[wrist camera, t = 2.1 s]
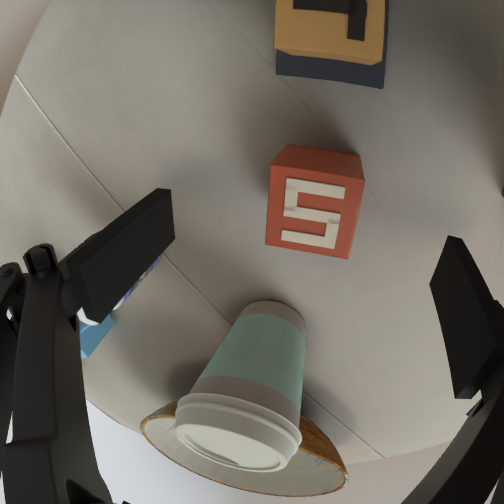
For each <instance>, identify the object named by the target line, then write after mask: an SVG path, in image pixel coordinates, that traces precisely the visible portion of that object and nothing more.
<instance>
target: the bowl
mask: <svg viewBox="0 0 504 504" xmlns="http://www.w3.org/2000/svg"><path fill="white" fill-rule="evenodd" d="M178 401H179V400H178ZM178 401H175V402H173V403H170V404H167V405H166V406H164V407H162V408H160V409H158V410H157V411H155V412H154V413H152V414H151V415H149V416H147V417H146V418H145V419H144V420H142V421H141V425H140V428H141V431H142V433H143V435H144V436H145V438H146V439H147V440H148V442H150V443H151V444H152V445H153V446H154V447H155V448H156V449H157V450H158V451H159V452H161V453H162V454H163V455H165V456H166V457H167V458H169V459H170V460H172V461H174V462H175V463H177V464H178V465H180V466H183V467H184V468H186V469H188V470H190V471H192V472H194V473H196V474H198V475H200V476H203V477H205V478H207V479H210V480H213V481H215V482H218V483H221V484H224V485H227V486H230V487H234V488H238V489H241V490H246V491H250V492H255V493H260V494H266V495H274V496H285V497H307V496H317V495H324V494H328V493H331V492H335V491H337V490H339V489H341V488H343V487H344V486H345V485H346V484H347V483H348V478H349V476H348V474H347V471H346V468H345V466H344V464H343V461H342V459H341V457H340V455H339V453H338V451H337V450H336V448H335V447H334V445H333V444H332V442H331V441H330V439H329V438H328V437H327V436H326V435H325V434H324V433H323V432H322V431H321V430H320V429H319V428H318V427H317V426H316V425H315V424H314V423H313V422H312V421H310V420H309V419H307V418H306V417H304V416H303V415H301V414H300V420H299V431H300V433H301V435H302V441H301V443H300V445H299V446H298V450H297V452H296V453H295V454H294V455H293V456H292V457H291V459H290V460H289V462H288V464H287V465H286V466H285V468H283V469H281V470H278V471H274V472H252V471H246V470H240V469H236V468H232V467H228V466H225V465H222V464H219V463H216V462H214V461H211V460H209V459H207V458H205V457H203V456H201V455H199V454H197V453H195V452H194V451H192V450H191V449H189V448H188V447H186V446H185V445H184V444H183V443H182V442H181V441H180V440H179V439H178V438H177V436H176V435H175V431H174V430H175V423H176V416H175V412H176V409H177V408H178V407H177V404H178Z"/></svg>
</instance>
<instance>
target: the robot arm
mask: <svg viewBox="0 0 504 504" xmlns="http://www.w3.org/2000/svg"><path fill="white" fill-rule="evenodd" d="M174 239H175V233H174V222H173V211H172V199H171V189H161V188H157V189H155V190H154V191H153V192H151V193H150V194H149V195H147V196H146V197H144V198H143V199H142V200H140V201H139V202H138V203H136V204H135V205H134V206H132V207H131V208H130V209H128V210H127V211H126V212H124V213H123V214H122V215H120V216H119V217H118V218H117V219H115V220H114V221H113V222H111V223H110V224H109V225H108V226H106V227H105V228H104V229H103V230H101V231H99V232H97V233H95V234H93V235H91V236H90V237H89V238H87V239H86V240H85V241H84V243H81V244H80V245H79V246H78V248H75V249H74V250H73V251H72V252H71V253H69V254H68V255H67V256H66V257H65V258H64V259H62V260H61V261H60V262H59V263H58V261H57V257H56V254H55V251H54V248H53V246H52V245H51V244H40V245H37V246H34V247H32V248H31V249H29V250H28V251H27V252H26V253H25V254H24V256H23V259H24V262H25V264H26V267H27V269H28V272H29V273H22V271H21V268H20V266H19V264H18V263H15V262H12V263H7V264H4V265H2V267H0V478H1V471H2V476H3V486H4V494H5V501H6V504H114V503H113V502H112V498H111V495H110V493H109V490H108V488H107V486H106V484H105V482H104V480H103V479H102V477H101V475H100V473H99V470H98V466H97V461H96V457H95V452H94V448H93V443H92V437H91V432H90V426H89V420H88V413H87V406H86V399H85V391H84V382H83V372H82V361H81V346H80V325H79V317H78V314H77V312H78V311H79V310H80V309H81V308H82V309H83V311H84V314H85V316H86V319H89V320H91V321H94V322H96V323H99V324H101V323H102V322H103V321H104V319H105V318H106V317H107V316H108V315H109V313H110V312H111V311H112V310H113V309H114V307H115V306H116V305H117V304H118V303H119V301H120V300H121V299H122V298H123V297H124V296H125V294H126V293H127V292H128V291H129V290H130V289H131V287H132V286H133V285H134V284H135V283H136V282H137V281H138V279H139V278H140V277H141V276H142V275H143V274H144V273H145V271H146V270H147V269H148V268H149V267H150V266H151V265H152V264H153V262H154V261H155V260H156V259H157V258H158V257H159V256H160V255H161V254H162V252H163V251H164V250H165V249H166V248H167V247H168V246H169V245H170V244H171V243H172V242H173V240H174ZM429 285H430V288H431V292H432V295H433V299H434V302H435V306H436V310H437V313H438V317H439V321H440V325H441V329H442V334H443V338H444V342H445V347H446V352H447V357H448V362H449V367H450V372H451V378H452V384H453V390H454V397H455V399H472V398H473V396H474V395H475V394H476V393H477V392H478V391H479V390H481V395H482V398H481V399H480V400H479V401H478V402H477V403H476V405H475V406H474V407H473V408H472V409H471V410H470V411H469V412H468V413H467V414H466V415H467V416H468V415H469V417H468V418H467V420H466V421H465V423H464V425H463V426H462V428H461V429H460V431H459V432H458V434H457V435H456V436H455V438H454V439H453V441H452V442H451V444H450V445H449V447H448V448H447V449H446V451H445V452H444V453H443V454H442V456H441V458H439V460H438V461H437V462H436V464H435V465H434V466H433V467H432V469H431V470H430V471H429V472H428V474H427V475H426V476H425V477H424V479H423V480H422V481H421V482H420V483H419V484H418V485H417V486H416V488H415V489H414V490H413V491H412V492H411V493H410V494H409V496H408V497H407V498H406V499H405V500H404V501H403V502H402V503H401V504H484V503H485V501H486V500H487V498H488V497H489V495H490V493H491V491H492V490H493V488H494V486H495V485H496V483H497V481H498V479H499V481H498V483H497V487H496V489H495V492H494V495H493V498H492V500H491V503H490V504H504V308H503V307H502V305H501V304H500V303H499V302H498V301H497V300H494V299H493V297H492V295H491V293H490V291H489V289H488V287H487V285H486V283H485V281H484V279H483V277H482V275H481V273H480V271H479V269H478V267H477V265H476V263H475V261H474V259H473V258H472V256H471V254H470V252H469V250H468V249H467V247H466V245H465V243H464V242H463V240H462V238H458V237H453V236H449V235H448V237H447V240H446V242H445V245H444V248H443V251H442V253H441V256H440V259H439V261H438V264H437V266H436V269H435V272H434V274H433V276H432V279H431V281H430V284H429ZM8 309H9V311H10V313H11V314H12V317H11V319H10V320H9V319H8V317H7V315H6V314H7V310H8ZM12 411H13V413H12ZM11 415H12V420H13V423H12V424H13V438H12V441H11V443H7V444H6V440H7V435H8V429H9V424H10V420H11ZM122 504H130V503H128V502H125V501H123V503H122Z"/></svg>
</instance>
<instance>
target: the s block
mask: <svg viewBox="0 0 504 504" xmlns="http://www.w3.org/2000/svg"><path fill="white" fill-rule="evenodd" d="M364 181H365V179H364V174H363V169H362V164H361V159H360V156H359V155H353V154H348V153H342V152H336V151H330V150H323V149H317V148H310V147H303V146H295V145H286V146H285V147H284V148H283V149H282V151H281V152H280V153H279V155H278V156H277V157H276V158H275V160H274V161H273V162H272V163H271V165H270V179H269V195H268V211H267V226H266V241H265V244H266V245H271V246H276V247H282V248H288V249H293V250H299V251H304V252H310V253H316V254H321V255H327V256H332V257H338V258H343V259H348V257H349V253H350V249H351V245H352V240H353V236H354V231H355V227H356V222H357V217H358V212H359V208H360V203H361V197H362V192H363V187H364Z"/></svg>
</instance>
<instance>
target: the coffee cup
mask: <svg viewBox="0 0 504 504" xmlns="http://www.w3.org/2000/svg"><path fill="white" fill-rule="evenodd" d="M305 339H306V326H305V322H304V320H303V319H302V317H301V316H300V315H299V314H298V313H297V312H296V311H295V310H294V309H292V308H291V307H289V306H287V305H285V304H282V303H279V302H275V301H257V302H254V303H251V304H249V305H248V306H246V307H245V308H244V309H243V311H242V312H241V314H240V315H239V317H238V318H237V320H236V321H235V323H234V324H233V326H232V327H231V329H230V331H229V332H228V334H227V335H226V337H225V338H224V340H223V341H222V343H221V344H220V346H219V348H218V349H217V351H216V352H215V354H214V355H213V357H212V358H211V360H210V361H209V363H208V365H207V366H206V368H205V369H204V371H203V372H202V374H201V375H200V377H199V378H198V380H197V381H196V383H195V384H194V386H193V387H192V389H191V391H190V392H189V394H188V395H186V396H183V397H182V398H181V399H180V400H179V401H178V404H177V407H178V408H177V409H176V412H175V416H176V423H175V430H174V431H175V435H176V436H177V438H178V439H179V440H180V441H181V442H182V443H183V444H184V445H185V446H186V447H188V448H189V449H191V450H192V451H194V452H195V453H197V454H199V455H201V456H203V457H205V458H207V459H209V460H211V461H214V462H216V463H219V464H222V465H225V466H228V467H232V468H236V469H240V470H246V471H252V472H274V471H278V470H281V469H283V468H285V466H286V465H287V464H288V462H289V460H290V459H291V457H292V456H293V455H294V454H295V453H296V452H297V450H298V446H299V445H300V443H301V441H302V435H301V433H300V431H299V420H300V410H301V399H302V386H303V372H304V358H305Z"/></svg>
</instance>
